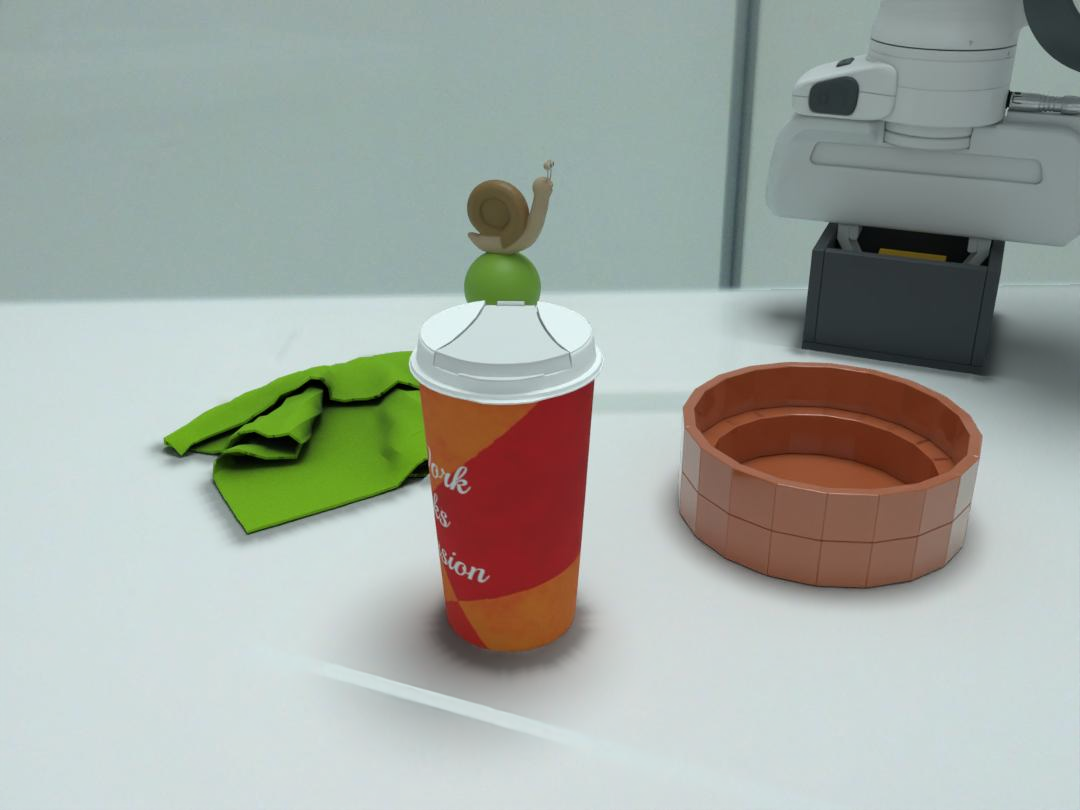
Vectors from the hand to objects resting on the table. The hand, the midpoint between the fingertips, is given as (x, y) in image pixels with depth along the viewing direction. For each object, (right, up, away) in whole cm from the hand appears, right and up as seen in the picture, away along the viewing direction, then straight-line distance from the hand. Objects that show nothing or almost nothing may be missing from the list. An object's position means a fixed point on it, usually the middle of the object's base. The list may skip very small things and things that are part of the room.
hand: (906, 290), depth 80 cm
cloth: (-37, -10, -12) cm, 40 cm away
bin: (0, -3, +1) cm, 3 cm away
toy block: (0, -2, +1) cm, 2 cm away
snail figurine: (-28, -2, +3) cm, 28 cm away
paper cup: (-27, -18, -29) cm, 43 cm away
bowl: (-11, -14, -21) cm, 27 cm away
